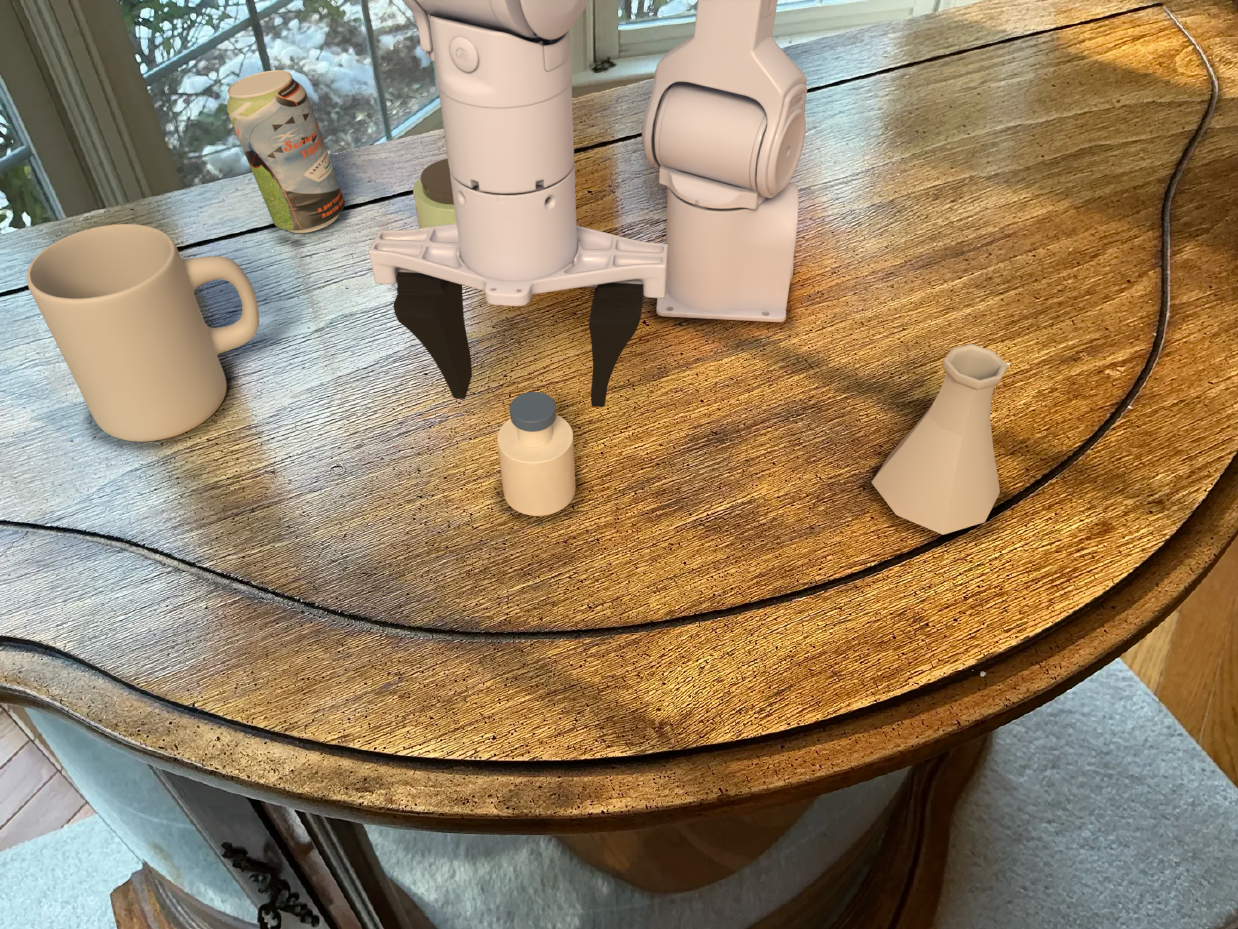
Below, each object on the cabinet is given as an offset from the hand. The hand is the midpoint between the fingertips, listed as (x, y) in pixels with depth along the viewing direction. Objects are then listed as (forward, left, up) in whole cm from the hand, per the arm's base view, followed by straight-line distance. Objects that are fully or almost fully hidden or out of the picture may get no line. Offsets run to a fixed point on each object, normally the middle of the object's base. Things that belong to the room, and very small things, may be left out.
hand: (530, 391), depth 54 cm
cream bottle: (0, 0, -8) cm, 8 cm away
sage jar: (+10, -27, -8) cm, 30 cm away
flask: (-24, -2, -8) cm, 25 cm away
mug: (+25, -7, -8) cm, 27 cm away
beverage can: (+24, -29, -8) cm, 39 cm away
